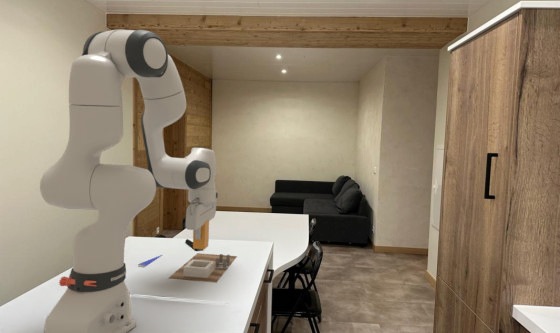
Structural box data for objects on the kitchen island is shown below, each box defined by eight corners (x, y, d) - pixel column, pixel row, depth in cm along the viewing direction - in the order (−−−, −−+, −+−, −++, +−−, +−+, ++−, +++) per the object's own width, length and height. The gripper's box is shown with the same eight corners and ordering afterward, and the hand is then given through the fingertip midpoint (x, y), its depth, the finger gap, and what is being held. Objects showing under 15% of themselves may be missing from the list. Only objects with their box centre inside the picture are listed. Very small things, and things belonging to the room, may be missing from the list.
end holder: (207, 278, 120) (207, 268, 120) (183, 276, 121) (183, 267, 120) (214, 269, 128) (214, 261, 127) (192, 268, 129) (192, 259, 128)
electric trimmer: (191, 245, 163) (191, 238, 163) (204, 254, 150) (205, 246, 150) (183, 246, 161) (183, 239, 161) (196, 255, 148) (196, 247, 148)
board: (216, 286, 116) (216, 271, 116) (167, 281, 118) (168, 267, 118) (236, 259, 144) (237, 247, 144) (197, 256, 146) (197, 244, 146)
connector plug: (204, 249, 122) (205, 219, 121) (192, 248, 122) (193, 218, 121) (208, 245, 126) (209, 216, 125) (197, 245, 126) (197, 215, 125)
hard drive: (156, 267, 129) (178, 257, 140) (138, 263, 132) (161, 254, 143) (156, 271, 129) (178, 261, 140) (138, 267, 132) (160, 258, 143)
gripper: (200, 201, 112) (199, 246, 113) (219, 192, 132) (218, 230, 133) (180, 200, 113) (179, 244, 114) (202, 191, 133) (201, 228, 134)
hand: (200, 236), depth 124 cm, fingers closed on connector plug, 4 cm apart
